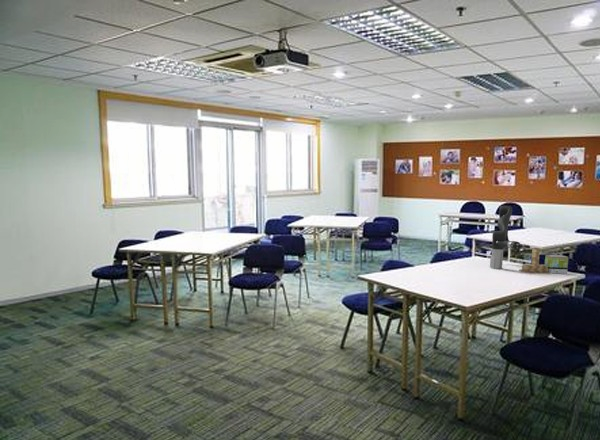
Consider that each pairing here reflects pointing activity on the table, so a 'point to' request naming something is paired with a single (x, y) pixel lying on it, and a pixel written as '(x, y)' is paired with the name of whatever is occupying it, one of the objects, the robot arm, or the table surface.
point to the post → (535, 256)
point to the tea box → (556, 263)
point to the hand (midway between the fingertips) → (525, 247)
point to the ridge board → (534, 268)
